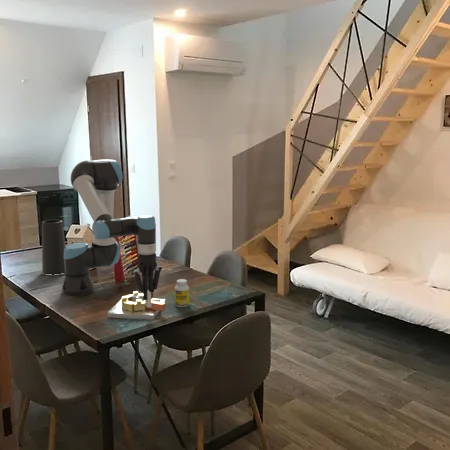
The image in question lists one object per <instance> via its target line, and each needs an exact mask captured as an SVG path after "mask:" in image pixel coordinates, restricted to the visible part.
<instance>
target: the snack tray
mask: <svg viewBox="0 0 450 450" xmlns="http://www.w3.org/2000/svg"><path fill="white" fill-rule="evenodd" d="M135 295H141V296H143V292H140V293H139V290H138V291H137V290H136V291H133V292H132V294H127V295H124V296H121V299H120V300H121V303H122V308H124V309H126V310H131V311H133V310H134V311H138V310H145V309H153V310H158V311H159V312H164V311H165V310H166V304H165V303H163V302H158V301H153V300H152V299H154V297H153V298H152V299H151V307H149V308H148V307H147V306H145V300H144V298H143V301H142V302H141V299H137V300H136V302H132V299H131V297H132V296H135Z"/></svg>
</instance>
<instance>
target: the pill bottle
mask: <svg viewBox="0 0 450 450" xmlns="http://www.w3.org/2000/svg"><path fill="white" fill-rule="evenodd" d="M174 305H175V306H176V307H177V308H185V307H188V306H189V305H190V287H189V285H188V280H187V279H184V278H180V279H177V280H176V285H175V286H174Z"/></svg>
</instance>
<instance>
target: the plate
mask: <svg viewBox="0 0 450 450" xmlns="http://www.w3.org/2000/svg"><path fill="white" fill-rule="evenodd" d="M131 299H132V302H136V300H137V299H141V302H142V301H143V296H141V295H135V296H132V297H131ZM152 300H153V301H158V302H163V303H165V305H166V299H165V298H155V297H153V299H152ZM159 312H160V311H158V310H153V309H145V310H138V311H134V310H133V311H131V310H126V309H124V308H122V303H121V299H120V300H118V301H117V303H116V304H115V305H114V306H113V307H111V309H110V310H109V311H108V312H107V318H117V319H118V318H119V319H132V320H133V319H135V320H150V321H153V320H155V318H156V317H157V316H158V314H159Z"/></svg>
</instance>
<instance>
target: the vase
mask: <svg viewBox="0 0 450 450" xmlns="http://www.w3.org/2000/svg"><path fill="white" fill-rule="evenodd" d="M66 247H67V246H66V239H65V232H64V224H63V220H62V219H46V220H43V221H41V253H42V255H41V256H42V257H41V260H42V269H41V271H42V274H43V273H44V274H52V275H54V274H61V273H65V266H64V249H65V248H66Z"/></svg>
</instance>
